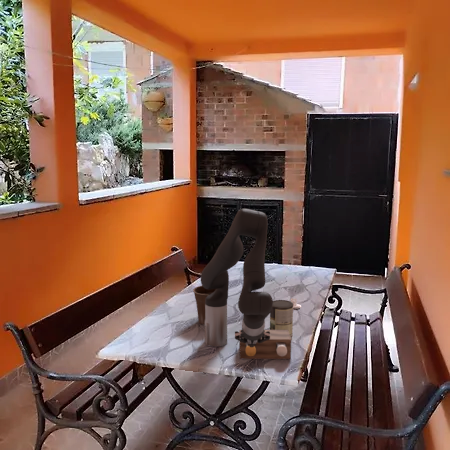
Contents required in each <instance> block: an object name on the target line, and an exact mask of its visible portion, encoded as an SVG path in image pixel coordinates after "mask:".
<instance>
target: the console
mask: <svg viewBox="0 0 450 450" xmlns="http://www.w3.org/2000/svg"><path fill="white" fill-rule="evenodd" d="M241 330H242V329H239V330H238V332H240V331H241ZM264 331H265V332H267V331H269V332H270V339H269V340H266V341H264V342H262V343H258V342H257V343H256V346H254V347H255V348H256V354H255V355H254V356H248V355H247V354H246V351H245V349H246V343H242V342H240V341H238V342H239V346H238V347H239V348H238V349H239V359H240V360H242V359H244V360H249V359H250V360H251V359H252V360H256V359H257V360H258V359H259V360H260V359H261V360H264V359H266V360H270V359H273V360H278V359H282V360H285V359H287V360H288V359H290V360H292V359H291V358H292V338H291V337H292V336H290V334H289V331H288V330H270V329H264ZM261 339H262V337H261ZM277 342H285V346H286V348H287V354H286V355H285V356H279V355H278V354H277V348H276V344H277Z"/></svg>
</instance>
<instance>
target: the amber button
mask: <svg viewBox="0 0 450 450" xmlns="http://www.w3.org/2000/svg"><path fill="white" fill-rule="evenodd" d="M245 351H246V354H247V355H248V356H254V355H255V354H256V348H255V347H250V346H248V342H246V349H245Z"/></svg>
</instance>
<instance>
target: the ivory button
mask: <svg viewBox="0 0 450 450" xmlns="http://www.w3.org/2000/svg"><path fill="white" fill-rule="evenodd" d="M276 348H277V354H278V355H279V356H285V355H286V354H287V348H286V346H285V342H277V344H276Z"/></svg>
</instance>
